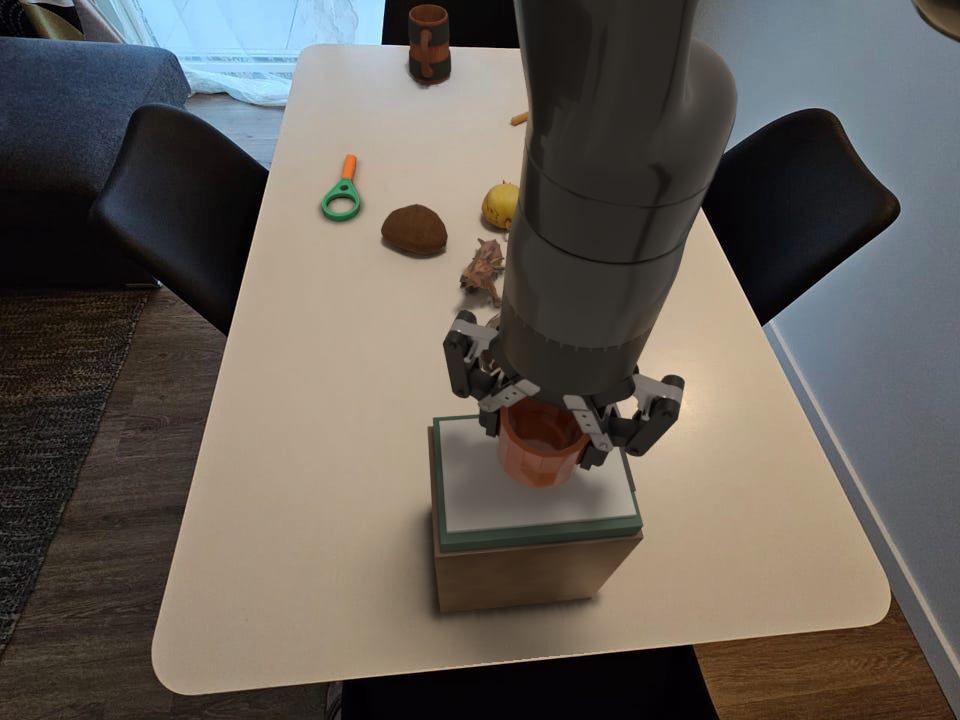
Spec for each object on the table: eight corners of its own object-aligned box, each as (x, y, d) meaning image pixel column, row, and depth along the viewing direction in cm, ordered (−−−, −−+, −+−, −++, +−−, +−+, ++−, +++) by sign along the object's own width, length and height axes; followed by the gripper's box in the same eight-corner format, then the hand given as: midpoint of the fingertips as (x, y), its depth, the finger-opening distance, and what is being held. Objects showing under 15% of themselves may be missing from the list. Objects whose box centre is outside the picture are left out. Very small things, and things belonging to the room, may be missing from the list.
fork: (516, 121, 106) (592, 85, 113) (510, 114, 107) (586, 78, 114) (513, 131, 108) (588, 95, 116) (507, 124, 109) (582, 89, 116)
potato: (389, 223, 91) (385, 187, 86) (453, 233, 91) (453, 198, 85) (377, 253, 87) (372, 218, 82) (443, 264, 87) (442, 229, 81)
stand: (572, 497, 66) (610, 412, 50) (592, 597, 60) (644, 538, 43) (434, 509, 65) (427, 426, 48) (440, 613, 58) (434, 557, 42)
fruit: (534, 216, 85) (532, 173, 91) (490, 205, 84) (491, 162, 89) (518, 247, 91) (517, 205, 96) (477, 238, 89) (478, 195, 95)
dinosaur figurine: (499, 322, 81) (504, 277, 73) (458, 317, 81) (459, 271, 73) (509, 254, 88) (514, 207, 81) (472, 249, 89) (473, 202, 81)
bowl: (590, 426, 42) (604, 391, 38) (568, 501, 39) (581, 471, 35) (511, 400, 44) (517, 363, 39) (484, 471, 40) (487, 438, 36)
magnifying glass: (357, 222, 91) (355, 214, 90) (319, 220, 91) (317, 212, 90) (369, 163, 100) (368, 155, 99) (335, 162, 100) (333, 153, 98)
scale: (607, 416, 49) (613, 400, 47) (638, 534, 44) (647, 523, 41) (433, 428, 48) (432, 413, 46) (441, 552, 42) (440, 542, 40)
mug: (403, 92, 113) (399, 31, 104) (412, 61, 120) (409, 1, 110) (447, 96, 113) (446, 35, 103) (453, 64, 120) (453, 4, 110)
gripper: (410, 292, 26) (426, 453, 40) (731, 391, 23) (629, 526, 37) (469, 193, 30) (465, 370, 44) (747, 268, 27) (650, 430, 41)
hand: (540, 441), depth 40 cm, fingers closed on bowl, 6 cm apart
